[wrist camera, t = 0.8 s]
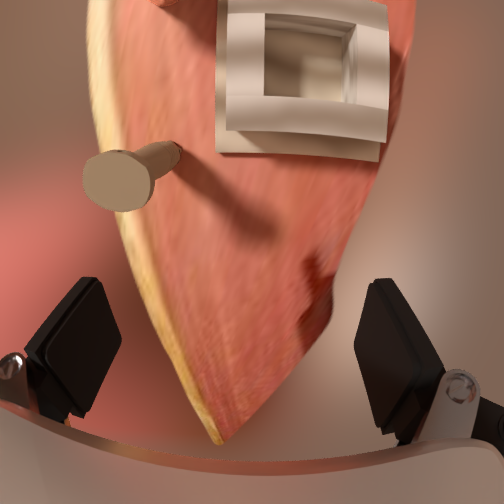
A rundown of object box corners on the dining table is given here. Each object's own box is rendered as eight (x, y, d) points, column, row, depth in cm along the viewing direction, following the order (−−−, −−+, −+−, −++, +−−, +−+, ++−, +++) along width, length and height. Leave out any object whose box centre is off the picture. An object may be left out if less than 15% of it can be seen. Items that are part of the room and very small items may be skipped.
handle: (191, 175, 34) (147, 218, 21) (145, 166, 34) (82, 204, 21) (198, 138, 32) (153, 158, 19) (150, 131, 32) (84, 149, 18)
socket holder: (219, -8, 22) (209, -32, 16) (378, 7, 22) (400, -10, 16) (217, 151, 33) (205, 160, 26) (375, 160, 32) (398, 173, 26)
